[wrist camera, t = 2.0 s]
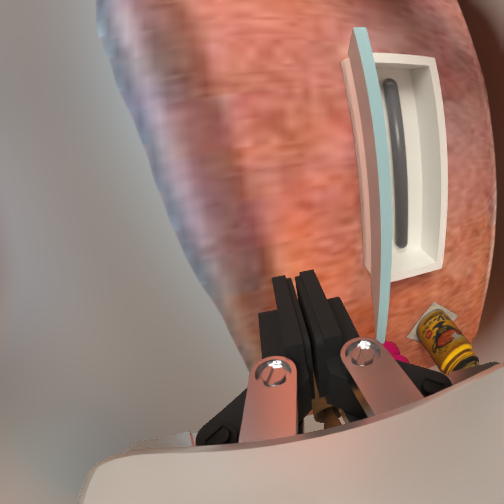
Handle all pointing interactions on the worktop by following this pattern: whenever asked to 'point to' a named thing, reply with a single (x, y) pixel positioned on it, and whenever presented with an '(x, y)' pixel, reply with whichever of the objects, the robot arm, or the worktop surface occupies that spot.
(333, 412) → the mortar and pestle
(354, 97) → the white open box
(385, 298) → the cover
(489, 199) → the worktop surface
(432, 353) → the condiment
